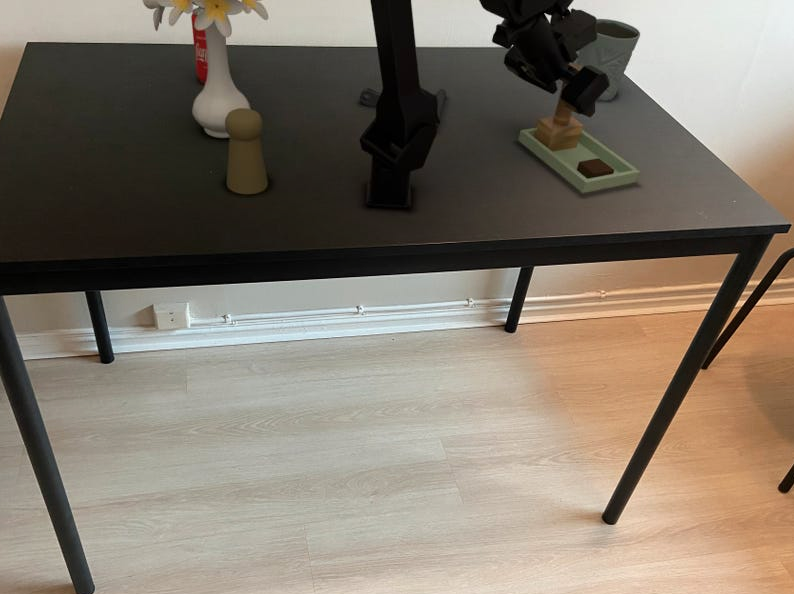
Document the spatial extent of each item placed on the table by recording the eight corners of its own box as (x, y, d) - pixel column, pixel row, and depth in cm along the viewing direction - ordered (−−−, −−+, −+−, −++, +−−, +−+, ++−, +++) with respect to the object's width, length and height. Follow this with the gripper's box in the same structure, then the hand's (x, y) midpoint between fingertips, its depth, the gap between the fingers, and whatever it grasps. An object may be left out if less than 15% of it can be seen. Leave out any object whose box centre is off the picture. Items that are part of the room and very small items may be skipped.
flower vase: (159, 117, 119) (134, -50, 102) (268, 110, 123) (262, -51, 106) (164, 154, 110) (139, -22, 93) (282, 145, 114) (278, -24, 97)
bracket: (367, 87, 133) (368, 72, 131) (445, 98, 132) (447, 83, 130) (352, 120, 123) (352, 104, 121) (436, 132, 121) (438, 117, 120)
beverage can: (232, 79, 132) (227, 11, 123) (213, 88, 128) (207, 18, 120) (210, 72, 133) (204, 4, 125) (191, 80, 130) (184, 11, 122)
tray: (635, 185, 112) (640, 171, 111) (581, 196, 109) (585, 182, 107) (568, 134, 124) (571, 121, 122) (517, 143, 120) (520, 129, 119)
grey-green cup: (564, 79, 142) (580, 16, 134) (614, 83, 142) (633, 20, 134) (573, 101, 135) (590, 35, 126) (625, 105, 135) (646, 40, 127)
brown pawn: (250, 198, 102) (246, 126, 95) (218, 185, 104) (211, 113, 97) (276, 182, 106) (274, 111, 98) (244, 169, 108) (240, 99, 100)
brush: (546, 152, 117) (567, 74, 108) (532, 141, 120) (551, 63, 111) (577, 147, 119) (599, 70, 110) (562, 136, 122) (583, 60, 113)
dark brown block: (611, 178, 112) (614, 169, 111) (591, 182, 111) (594, 173, 110) (596, 166, 115) (598, 157, 114) (576, 170, 114) (578, 161, 112)
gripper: (620, 16, 96) (651, 85, 108) (535, -25, 107) (571, 42, 119) (561, 82, 98) (598, 142, 110) (483, 35, 110) (524, 95, 122)
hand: (573, 102), depth 115 cm, fingers open, 9 cm apart
